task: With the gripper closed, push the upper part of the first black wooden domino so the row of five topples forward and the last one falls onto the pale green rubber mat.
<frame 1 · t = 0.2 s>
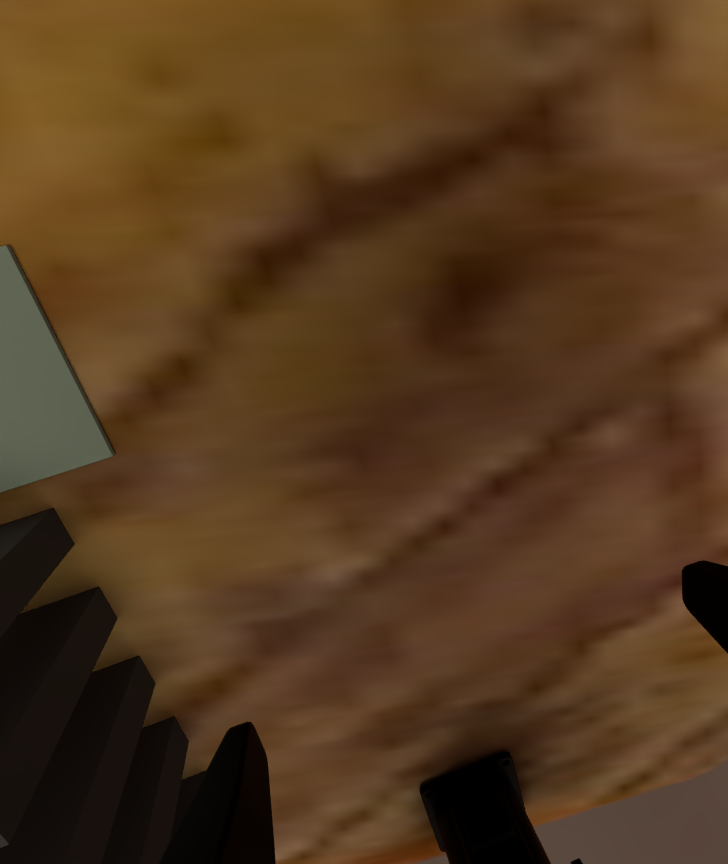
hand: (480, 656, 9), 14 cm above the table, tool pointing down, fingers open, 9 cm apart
domino 4: (57, 620, 22), on the table
domino 1: (170, 798, 27), on the table
domino 3: (99, 687, 24), on the table
domino 2: (137, 746, 25), on the table
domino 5: (9, 544, 21), on the table
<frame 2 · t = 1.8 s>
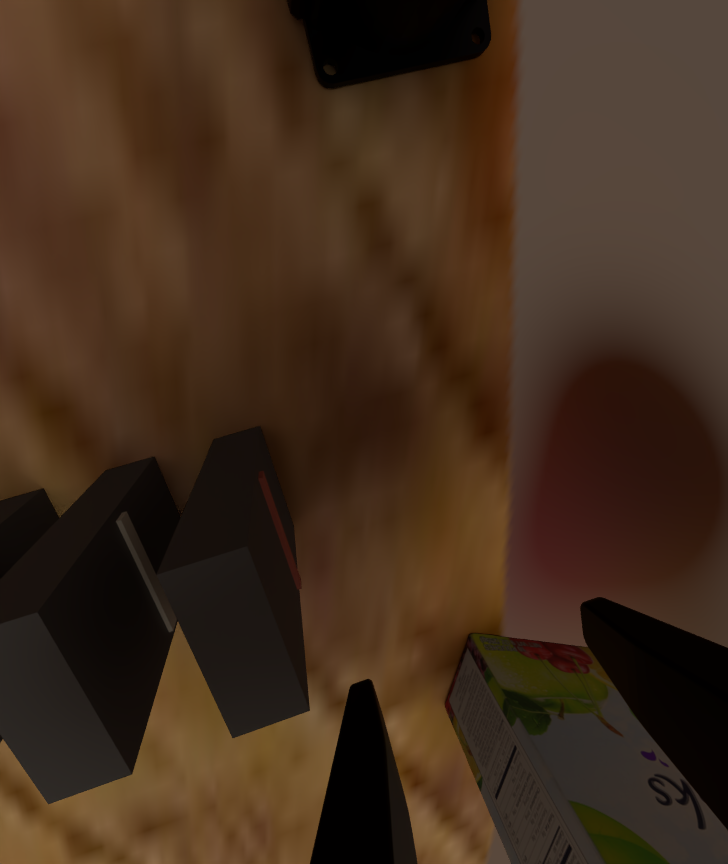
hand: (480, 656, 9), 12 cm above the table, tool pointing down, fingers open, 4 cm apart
domino 1: (255, 484, 20), on the table
domino 3: (46, 547, 19), on the table
domino 2: (153, 515, 20), on the table
snack box: (606, 678, 28), on the table
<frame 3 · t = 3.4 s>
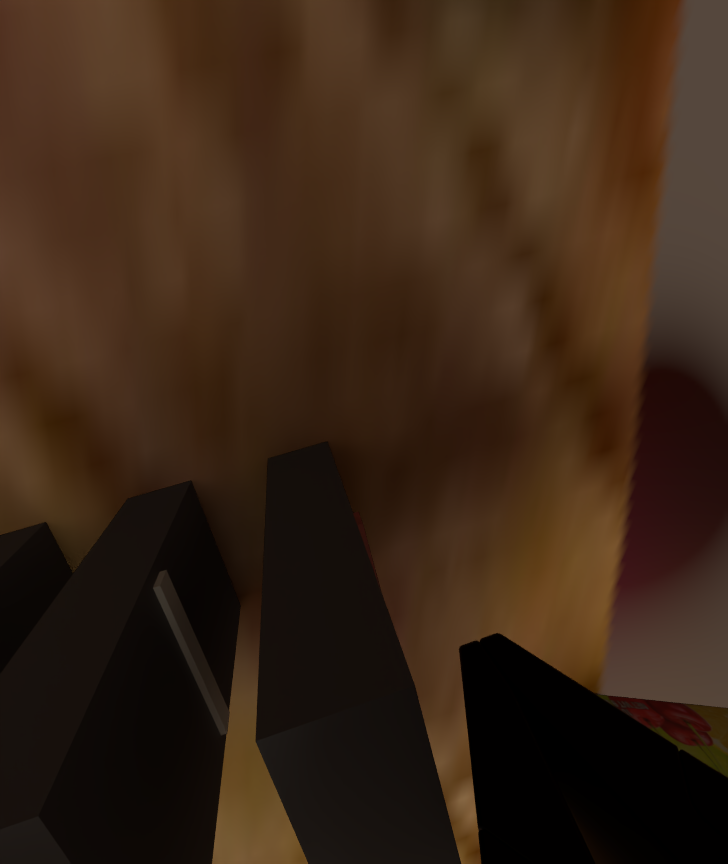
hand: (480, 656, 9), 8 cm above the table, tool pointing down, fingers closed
domino 1: (317, 515, 16), on the table, touching gripper
domino 3: (48, 597, 15), on the table
domino 2: (187, 555, 15), on the table
snack box: (710, 738, 24), on the table
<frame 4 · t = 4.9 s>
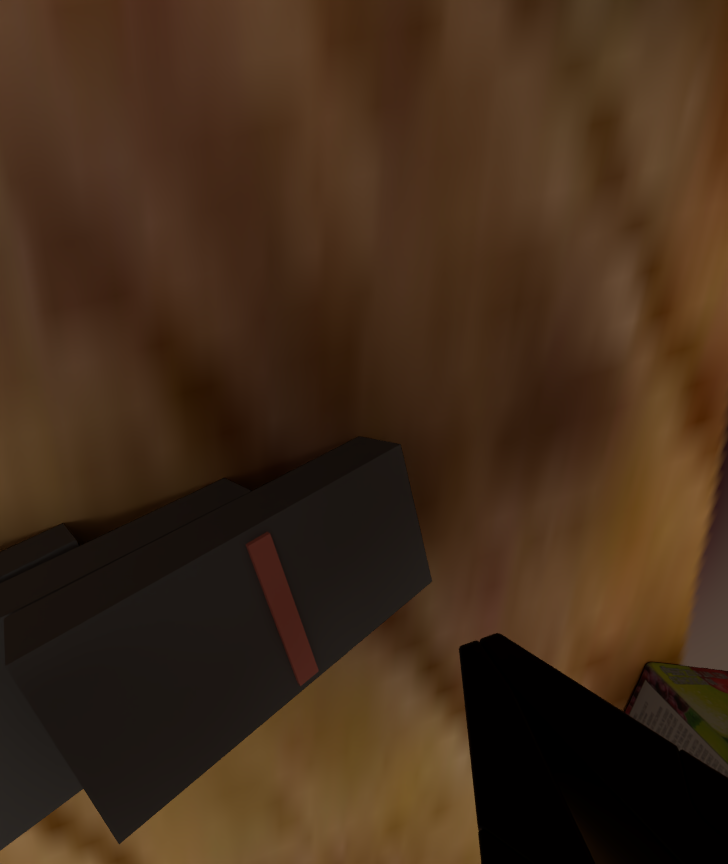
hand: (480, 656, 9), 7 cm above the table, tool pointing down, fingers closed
domino 1: (395, 508, 15), point 1 cm above the table, tilted 61°, touching domino 2
domino 3: (104, 599, 14), point 1 cm above the table, tilted 57°, touching domino 2, domino 4
domino 2: (261, 553, 15), point 1 cm above the table, tilted 61°, touching domino 1, domino 3
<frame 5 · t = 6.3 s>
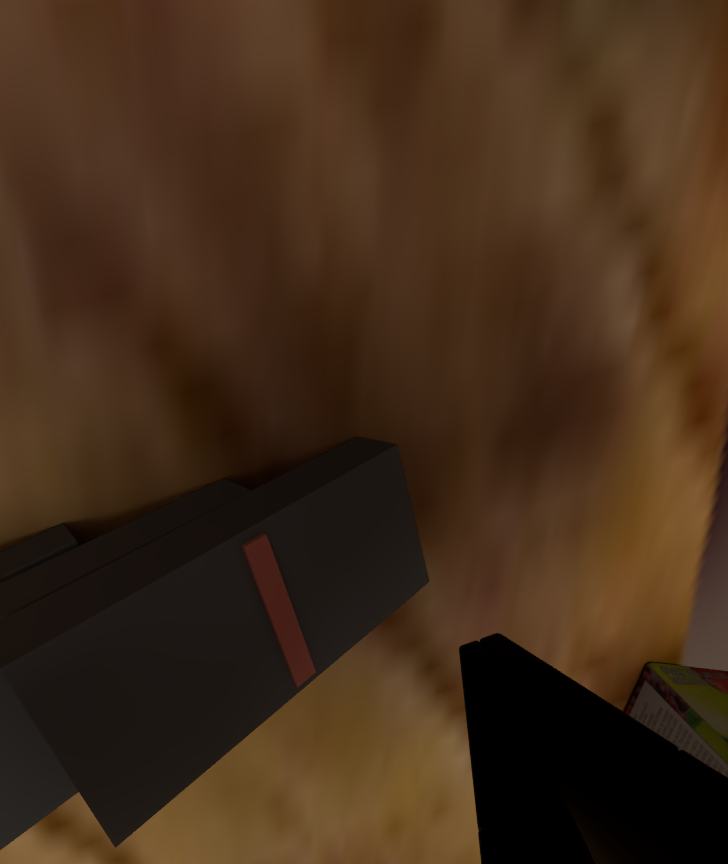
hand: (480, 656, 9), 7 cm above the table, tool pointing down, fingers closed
domino 1: (392, 509, 15), point 1 cm above the table, tilted 61°, touching domino 2
domino 3: (104, 599, 14), point 1 cm above the table, tilted 57°, touching domino 2, domino 4
domino 2: (261, 552, 15), point 1 cm above the table, tilted 61°, touching domino 1, domino 3
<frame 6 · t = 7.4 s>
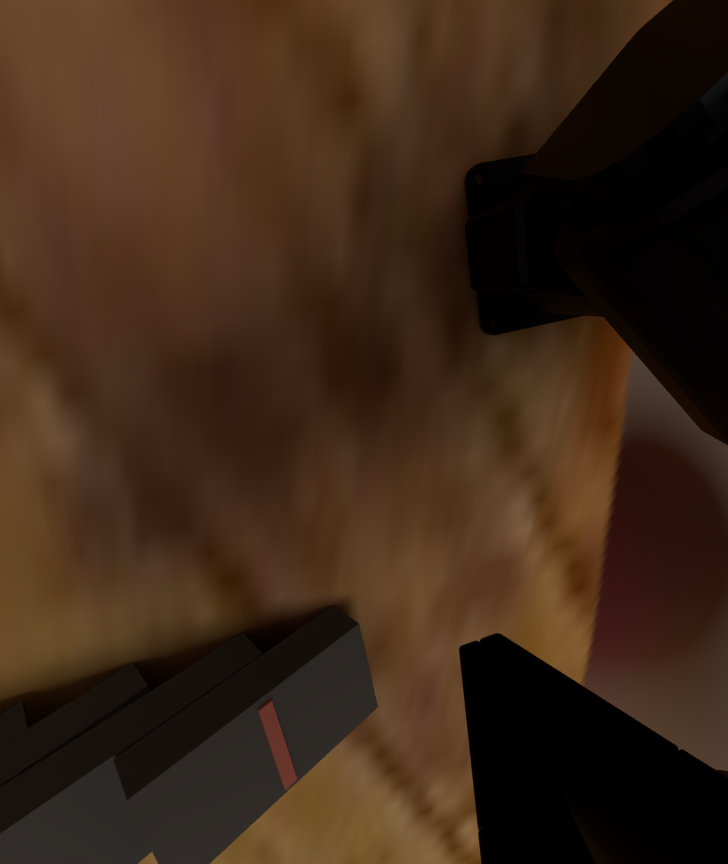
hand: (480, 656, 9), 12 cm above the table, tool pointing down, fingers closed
domino 4: (48, 757, 20), point 1 cm above the table, tilted 59°, touching domino 3, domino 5
domino 1: (355, 656, 22), point 1 cm above the table, tilted 61°, touching domino 2
domino 3: (157, 715, 21), point 1 cm above the table, tilted 57°, touching domino 2, domino 4
domino 2: (265, 684, 22), point 1 cm above the table, tilted 61°, touching domino 1, domino 3
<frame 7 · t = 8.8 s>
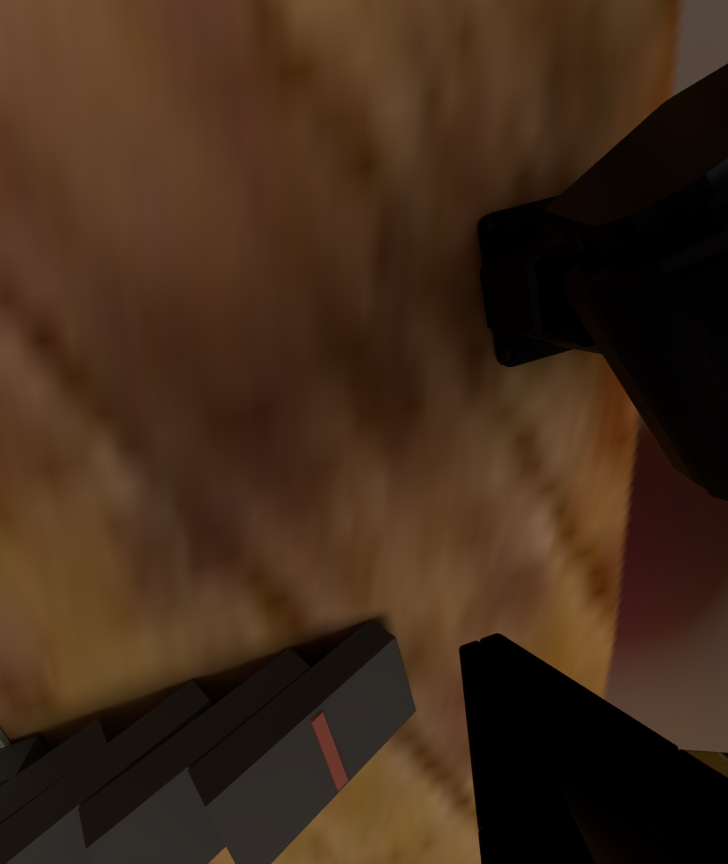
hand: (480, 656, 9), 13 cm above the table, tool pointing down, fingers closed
domino 4: (124, 766, 22), point 1 cm above the table, tilted 59°, touching domino 3, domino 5
domino 1: (392, 665, 24), point 1 cm above the table, tilted 60°, touching domino 2
domino 3: (217, 725, 23), point 1 cm above the table, tilted 57°, touching domino 2, domino 4
domino 2: (313, 694, 24), point 1 cm above the table, tilted 61°, touching domino 1, domino 3
snack box: (679, 770, 33), on the table
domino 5: (51, 791, 22), point 1 cm above the table, tilted 90°, touching domino 4, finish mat
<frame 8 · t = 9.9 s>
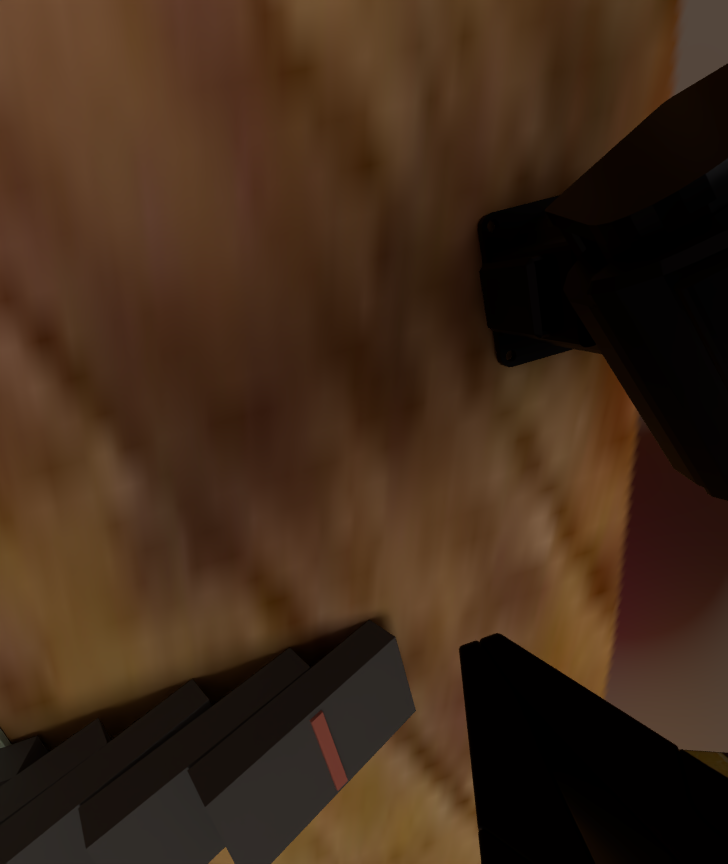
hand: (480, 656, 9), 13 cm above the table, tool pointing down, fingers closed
domino 4: (124, 766, 22), point 1 cm above the table, tilted 59°, touching domino 3, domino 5
domino 1: (392, 665, 24), point 1 cm above the table, tilted 60°, touching domino 2
domino 3: (217, 725, 23), point 1 cm above the table, tilted 57°, touching domino 2, domino 4
domino 2: (313, 694, 24), point 1 cm above the table, tilted 61°, touching domino 1, domino 3
snack box: (679, 770, 33), on the table
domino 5: (51, 791, 22), point 1 cm above the table, tilted 90°, touching domino 4, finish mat
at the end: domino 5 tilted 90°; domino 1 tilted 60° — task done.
